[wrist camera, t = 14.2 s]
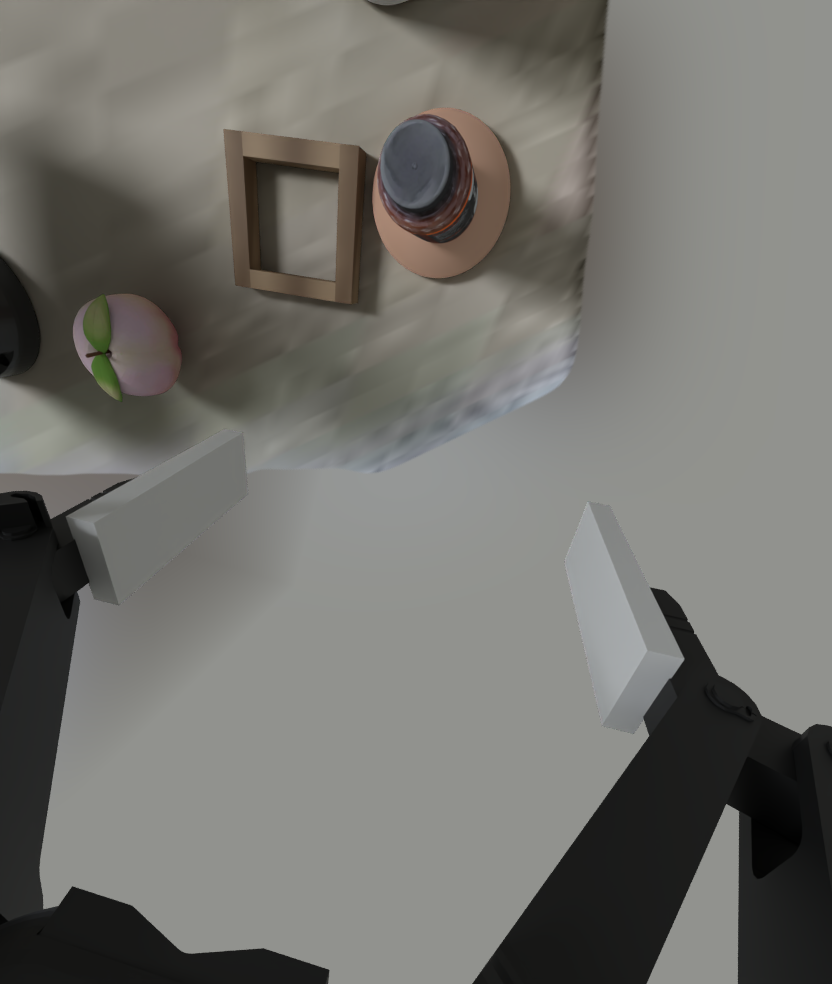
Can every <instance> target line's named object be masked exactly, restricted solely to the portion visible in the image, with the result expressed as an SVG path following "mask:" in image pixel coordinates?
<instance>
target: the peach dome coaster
mask: <svg viewBox="0 0 832 984" xmlns="http://www.w3.org/2000/svg"><path fill="white" fill-rule="evenodd" d="M421 114H432V115H436V116H439V117H441V118H443V119H445V120H447V121H448V122H450V123H451V124H452V125H453V126H455V127H456V129H457V130H458V131H459V133H460V134H461V136H462V137H463V139H464V141H465V143H466V145H467V148H468V151H469V154H470V157H471V161H472V165H473V169H474V173H475V177H476V180H477V186H478V201H477V208H476V211H475V214H474V217H473V220H472V221H471V223H470V225H469V227H468V228H467V229H466V230H465V231H464V232H463V233H462V234H461V235H460V236H459V237H457V238H456V239H454V240H452V241H450V242H447V243H440V244H439V243H431V242H427V241H424V240H422V239H420V238H418V237H417V236H415V235H413V234H411V233H409V232H407V231H406V230H404V229H402V228H401V227H400V226H398V225H397V224H396V223H395V222H394V221H393V220H392V219H391V217H390V216H389V215H388V213H387V212H386V210H385V208H384V206H383V203H382V201H381V199H380V195H379V190H378V185H377V170H378V165H377V168H376V172H375V177H374V183H373V195H372V203H373V213H374V218H375V223H376V226H377V229H378V232H379V235H380V237H381V239H382V241H383V243H384V245H385V246H386V248H387V250H388V251H389V252H390V254H391V255H392V256H393V257H394V258H395V259H396V260H397V261H398V262H399V263H400V264H401V265H402V266H404V267H405V268H406V269H408V270H410V271H411V272H413V273H416V274H418V275H421V276H425V277H429V278H448V277H452V276H456V275H459V274H461V273H464V272H466V271H468V270H469V269H471V268H473V267H474V266H475V265H477V264H478V263H479V262H480V261H481V260H482V259H483V258H485V257H486V255H487V254H488V253H489V252H490V251H491V249H492V248H493V246H494V245H495V243H496V242H497V240H498V238H499V236H500V234H501V232H502V230H503V227H504V224H505V222H506V218H507V214H508V210H509V203H510V190H511V185H510V173H509V168H508V163H507V160H506V157H505V154H504V151H503V149H502V147H501V145H500V143H499V141H498V140H497V138H496V136H495V135H494V133H493V132H492V131H491V130H490V129H489V128H488V126H487V125H486V124H484V123H483V122H482V121H481V120H480V119H478V118H477V117H475V116H473V115H472V114H470V113H467V112H465V111H462V110H459V109H454V108H437V109H431V110H428V111H425V112H422V113H420V114H418V115H421Z"/></svg>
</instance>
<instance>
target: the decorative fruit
mask: <svg viewBox="0 0 832 984" xmlns="http://www.w3.org/2000/svg"><path fill="white" fill-rule="evenodd" d="M73 338H74V343H75V347H76V350H77V352H78V355H79V357H80V359H81V361H82V363H83V364H84V366H85V367H86V368H87V369H88V371H89V372H90V373H91V374H92V375H93V376H94V377H95V379H96V381H97V383H98V384H99V385H100V387H101V388H102V389H103V390H104V391H105V392H106V393H108V394H109V395H110V396H112V397H113V398H114V399H116V400H118V401H120V402H122V394H121V392H122V393H125V394H129V395H135V396H152V395H158V394H162V393H164V392H166V391H167V390H169V389H170V388H171V387H172V386H173V385H174V383H175V382H176V380H177V378H178V375H179V372H180V368H181V363H182V354H181V350H180V348H179V346H178V334H177V332H176V329H175V327H174V326H173V324H172V323H171V321H170V320H169V318H168V317H167V316H166V315H165V313H164V312H163V311H162V310H161V309H160V308H159V307H158V306H156V305H155V304H154V303H152V302H151V301H149V300H148V299H146V298H144V297H141V296H138V295H134V294H113V295H107V296H105V295H104V294H102V295H101V296H99V297H98V298H96V299H93V300H91V301H89V302H87V303H86V304H85V305H84V306H83V307H82V308H81V309H80V310H79V311H78V313H77V315H76V317H75V320H74V325H73Z"/></svg>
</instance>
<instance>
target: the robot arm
mask: <svg viewBox="0 0 832 984" xmlns="http://www.w3.org/2000/svg"><path fill="white" fill-rule="evenodd" d="M38 351H39V329H38V324H37V320H36V316H35V313H34V310H33V308H32V305H31V303H30V300H29V298H28V296H27V294H26V292H25V291H24V289H23V287H22V286H21V284H20V282H19V281H18V279H17V278H16V276H15V275H14V274H13V272H12V271H11V270H10V268H9V267H8V266H7V265H6V264H5V262H4V261H3V260H2V259H1V258H0V378H1V377H6V376H11V375H16V374H20V373H23V372H25V371H26V370H28V369H29V368H30V367H31V366H32V365H33V363H34V362H35V360H36V357H37V355H38ZM246 495H248V486H247V473H246V461H245V449H244V436H243V432H238V431H233V430H228V429H223V430H222V431H220V432H218V433H216V434H214V435H213V436H211V437H209V438H207V439H205V440H203V441H202V442H200V443H198V444H196V445H194V446H193V447H191V448H189V449H187V450H185V451H184V452H182V453H180V454H178V455H176V456H174V457H173V458H171V459H169V460H167V461H165V462H164V463H162V464H160V465H158V466H156V467H155V468H153V469H151V470H149V471H147V472H146V473H144V474H142V475H140V476H138V477H136V478H133V479H130V480H126V481H123V482H120V483H117V484H115V485H113V486H112V487H110V488H108V489H106V490H104V491H103V493H99V494H97V495H95V496H93V497H91V499H90V500H89V499H88V500H86V501H84V502H82V503H80V504H78V505H77V506H75V507H73V508H71V509H69V510H67V511H65V512H63V513H62V514H60V515H58V516H56V517H54V518H52V519H50V517H49V514H48V511H47V509H46V506H45V503H44V500H43V498H42V496H41V495H40V494H38V493H36V492H30V491H13V492H7V493H1V494H0V984H328V978H329V970H328V969H325V968H322V967H319V966H316V965H312V964H310V963H306V962H303V961H300V960H297V959H294V958H291V957H288V956H285V955H282V954H279V953H276V952H273V951H270V950H266V949H264V948H263V949H249V950H236V951H224V952H209V953H196V954H188V953H184V952H181V951H180V950H179V949H178V948H177V947H176V946H174V945H173V944H172V943H171V942H170V941H169V940H168V939H167V938H166V937H165V936H164V935H163V934H162V933H161V932H160V931H158V930H157V929H156V928H155V927H154V926H153V925H152V924H151V923H150V922H149V921H148V920H147V919H146V918H145V917H144V916H143V915H141V914H140V913H139V912H138V911H137V910H136V909H135V908H134V907H133V906H131V905H128V904H125V903H122V902H119V901H116V900H113V899H110V898H107V897H104V896H100V895H97V894H94V893H91V892H88V891H85V890H82V889H79V888H76V887H72V888H71V889H70V890H69V892H68V893H67V895H66V896H65V898H64V899H63V900H62V902H61V903H60V905H59V906H57V907H52V908H48V909H43V894H42V888H41V882H40V875H39V865H40V855H41V849H42V843H43V836H44V830H45V823H46V817H47V811H48V804H49V798H50V791H51V785H52V778H53V772H54V766H55V759H56V753H57V746H58V740H59V733H60V727H61V721H62V715H63V707H64V702H65V695H66V688H67V682H68V676H69V670H70V663H71V656H72V650H73V644H74V637H75V631H76V625H77V618H78V611H79V605H80V600H79V596H78V593H77V591H78V590H80V589H81V588H82V587H84V586H85V585H86V584H88V583H89V586H90V588H91V591H92V594H93V597H94V599H96V600H100V601H103V602H107V603H112V604H116V605H120V604H121V603H122V602H124V601H125V600H126V599H127V598H128V597H129V596H131V595H132V594H133V593H134V592H135V591H136V590H137V589H139V588H140V587H141V586H142V585H143V584H145V583H146V582H147V581H148V580H149V579H150V578H151V577H153V576H154V575H155V574H156V573H157V572H158V571H160V570H161V569H162V568H163V567H164V566H165V565H167V564H168V563H169V562H170V561H171V560H172V559H173V558H175V557H176V556H177V555H178V554H179V553H180V552H182V551H183V550H184V549H185V548H186V547H187V546H189V544H191V543H192V542H193V541H194V540H195V539H197V538H198V537H199V536H200V535H201V534H202V533H204V532H205V531H206V530H207V529H208V528H209V527H210V526H212V525H213V524H214V523H215V522H216V521H217V520H219V519H220V518H221V517H222V516H223V515H224V514H225V513H227V512H228V511H229V510H230V509H231V508H232V507H234V506H235V505H236V504H237V503H238V502H239V501H240V500H242V499H243V498H244V497H245V496H246ZM564 563H565V568H566V572H567V576H568V581H569V585H570V590H571V594H572V598H573V602H574V607H575V611H576V616H577V620H578V624H579V629H580V633H581V637H582V642H583V646H584V651H585V655H586V659H587V664H588V668H589V672H590V677H591V681H592V685H593V690H594V694H595V698H596V703H597V707H598V712H599V716H600V720H601V724H602V726H604V727H608V728H612V729H616V730H620V731H624V732H628V733H632V734H634V733H635V731H636V730H637V728H638V727H639V725H640V724H641V722H642V721H643V720H644V721H645V724H646V727H647V730H648V733H649V737H648V739H647V740H646V742H645V743H644V744H643V746H642V747H641V749H640V750H639V752H638V753H637V754H636V756H635V757H634V758H633V760H632V761H631V763H630V764H629V765H628V767H627V768H626V770H625V771H624V772H623V774H622V775H621V777H620V778H619V779H618V781H617V782H616V784H615V785H614V786H613V788H612V789H611V791H610V792H609V793H608V795H607V796H606V798H605V799H604V800H603V802H602V803H601V805H600V806H599V808H598V809H597V810H596V812H595V813H594V814H593V816H592V817H591V819H590V820H589V821H588V823H587V824H586V826H585V827H584V828H583V830H582V831H581V833H580V834H579V835H578V837H577V838H576V840H575V841H574V842H573V844H572V845H571V847H570V848H569V849H568V851H567V852H566V853H565V855H564V856H563V858H562V859H561V860H560V862H559V863H558V865H557V866H556V868H555V869H554V870H553V872H552V873H551V874H550V876H549V877H548V879H547V880H546V881H545V883H544V884H543V886H542V887H541V888H540V890H539V891H538V893H537V894H536V896H535V897H534V898H533V900H532V901H531V903H530V904H529V905H528V907H527V908H526V909H525V911H524V912H523V914H522V915H521V916H520V918H519V919H518V921H517V922H516V924H515V925H514V926H513V928H512V929H511V930H510V932H509V933H508V935H507V936H506V937H505V939H504V940H503V942H502V943H501V944H500V946H499V947H498V949H497V950H496V951H495V953H494V954H493V956H492V957H491V958H490V960H489V961H488V963H487V964H486V965H485V967H484V968H483V970H482V971H481V972H480V974H479V975H478V977H477V978H476V979H475V981H474V982H473V984H646V983H647V981H648V979H649V977H650V974H651V972H652V970H653V968H654V965H655V963H656V961H657V959H658V956H659V954H660V952H661V950H662V947H663V945H664V943H665V941H666V938H667V936H668V934H669V932H670V929H671V927H672V925H673V923H674V920H675V918H676V916H677V914H678V911H679V909H680V907H681V905H682V902H683V900H684V898H685V896H686V893H687V891H688V889H689V886H690V884H691V882H692V880H693V877H694V875H695V873H696V871H697V869H698V866H699V864H700V862H701V859H702V857H703V855H704V853H705V850H706V848H707V846H708V844H709V841H710V839H711V837H712V835H713V832H714V830H715V828H716V826H717V823H718V821H719V819H720V817H721V814H722V812H723V810H724V807H725V805H726V804H728V805H730V806H731V807H733V808H735V809H737V810H738V811H739V912H738V915H739V917H738V984H832V727H831V726H827V725H819V724H816V725H813V726H811V727H809V728H808V729H807V730H806V731H805V732H804V733H803V734H802V735H801V734H799V733H797V732H795V731H792V730H790V729H788V728H786V727H784V726H782V725H780V724H778V723H775V722H773V721H771V720H769V719H767V718H765V717H763V716H761V714H760V712H759V710H758V708H757V706H756V704H755V703H754V702H753V701H752V699H751V698H750V697H749V696H748V695H747V694H746V693H745V692H744V691H743V690H741V689H740V688H739V687H738V686H736V685H735V684H733V683H732V682H730V681H728V680H726V679H724V678H723V677H721V676H719V675H718V673H717V672H716V670H715V668H714V666H713V664H712V662H711V661H710V659H709V657H708V655H707V654H706V652H705V650H704V648H703V646H702V645H701V643H700V641H699V639H698V637H697V635H696V634H694V630H693V628H692V626H691V625H690V623H689V622H687V620H688V619H687V617H686V615H685V614H684V612H683V610H682V608H681V606H680V605H679V604H678V603H677V602H676V601H675V600H674V599H673V598H672V597H671V596H670V595H669V594H668V593H667V592H666V591H664V590H660V589H655V588H650V587H649V585H648V583H647V581H646V579H645V577H644V575H643V573H642V571H641V568H640V566H639V564H638V562H637V560H636V558H635V556H634V554H633V552H632V550H631V548H630V546H629V544H628V542H627V540H626V538H625V536H624V534H623V532H622V529H621V527H620V526H619V523H618V522H617V519H616V517H615V515H614V513H613V511H612V509H611V507H610V506H609V505H604V504H599V503H593V502H589V501H588V503H587V505H586V508H585V510H584V513H583V516H582V518H581V520H580V523H579V526H578V528H577V531H576V533H575V535H574V538H573V541H572V543H571V546H570V548H569V551H568V553H567V556H566V559H565V561H564Z"/></svg>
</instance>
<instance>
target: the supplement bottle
mask: <svg viewBox="0 0 832 984" xmlns="http://www.w3.org/2000/svg"><path fill="white" fill-rule="evenodd" d="M377 185H378V190H379V195H380V199H381V201H382V203H383V206H384V208H385V210H386V212H387V213H388V215H389V216H390V217H391V219H392V220H393V221H394V222H395V223H396V224H397V225H398V226H400V227H401V228H402V229H404V230H406V231H407V232H409V233H411V234H413V235H415V236H417V237H418V238H420V239H422V240H424V241H427V242H431V243H439V244H440V243H447V242H450V241H452V240H454V239H456V238H457V237H459V236H460V235H461V234H462V233H463V232H464V231H465V230H466V229H467V228H468V227H469V225H470V223H471V221H472V220H473V217H474V214H475V211H476V208H477V201H478V186H477V180H476V177H475V173H474V169H473V165H472V161H471V157H470V154H469V151H468V148H467V145H466V143H465V141H464V139H463V137H462V136H461V134H460V133H459V131H458V130H457V129H456V127H455V126H453V125H452V124H451V123H450V122H448V121H447V120H445V119H443V118H441V117H439V116H436V115H432V114H421V115H416V116H414V117H411V118H409V119H407V120H405V121H404V122H402V123H401V124H399V125H398V126H397V127H396V128H395V129H394V130H393V131H392V132H391V134H390V135H389V137H388V139H387V140H386V142H385V144H384V146H383V149H382V152H381V154H380V157H379V162H378V170H377Z"/></svg>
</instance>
